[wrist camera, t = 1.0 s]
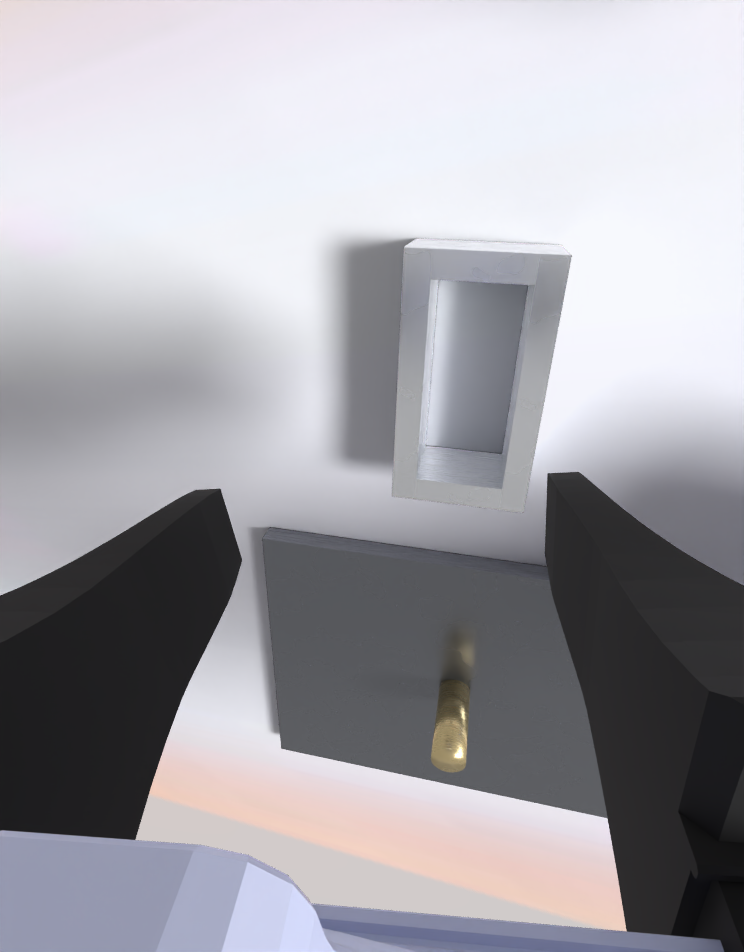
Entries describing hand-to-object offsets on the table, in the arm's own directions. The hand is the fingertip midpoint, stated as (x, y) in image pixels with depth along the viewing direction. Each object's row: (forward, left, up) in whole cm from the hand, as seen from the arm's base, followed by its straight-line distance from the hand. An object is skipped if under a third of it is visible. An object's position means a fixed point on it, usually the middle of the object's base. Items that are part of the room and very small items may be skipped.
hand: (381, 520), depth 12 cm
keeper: (-3, +17, -11) cm, 20 cm away
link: (-2, 0, -11) cm, 11 cm away
